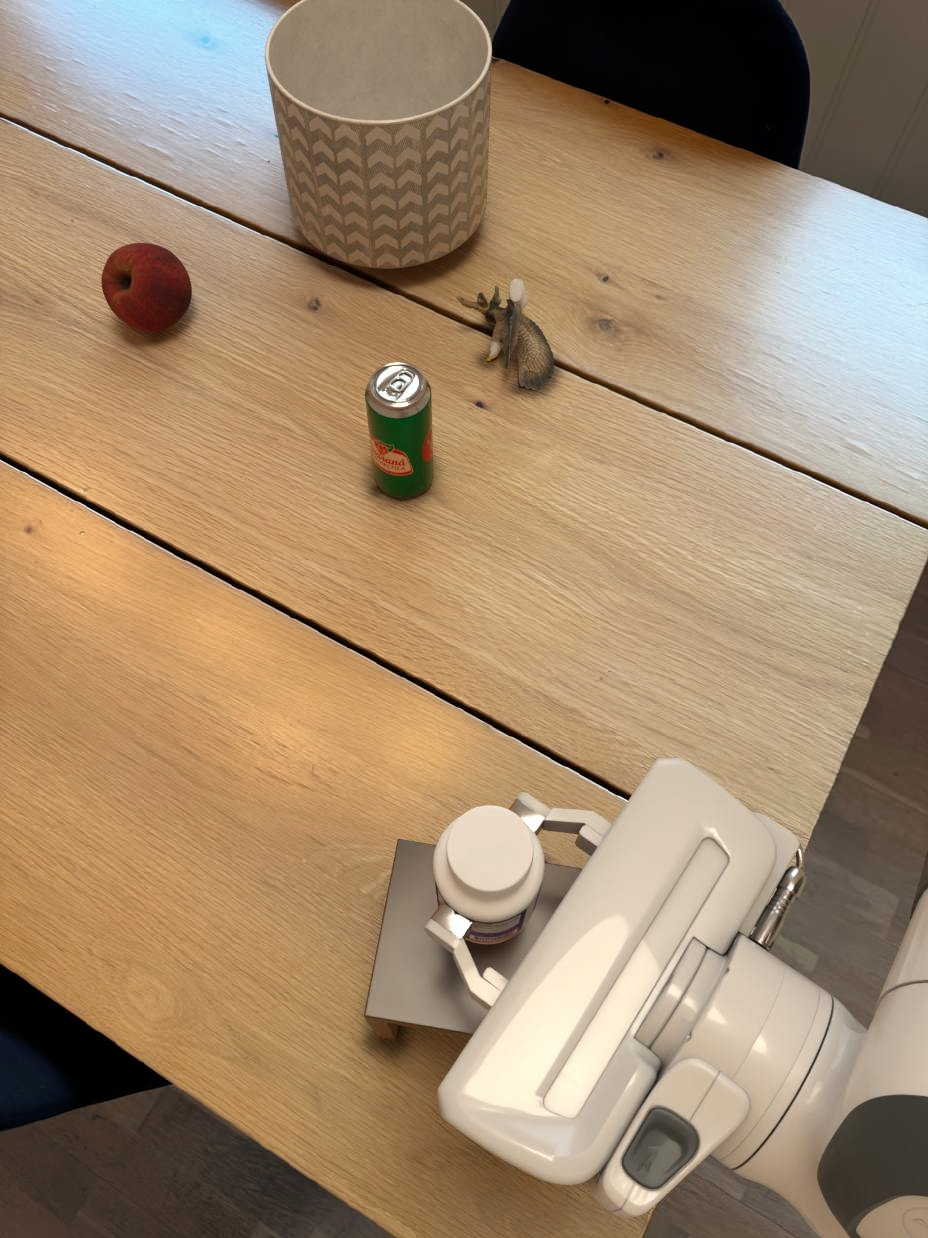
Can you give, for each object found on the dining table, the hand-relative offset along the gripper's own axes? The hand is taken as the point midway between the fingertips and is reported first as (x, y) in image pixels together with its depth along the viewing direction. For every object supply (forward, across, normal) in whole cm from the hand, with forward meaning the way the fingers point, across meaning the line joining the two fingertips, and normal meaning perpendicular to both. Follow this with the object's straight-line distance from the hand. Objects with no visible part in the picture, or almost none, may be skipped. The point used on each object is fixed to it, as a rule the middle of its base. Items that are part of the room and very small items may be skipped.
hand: (473, 860), depth 50 cm
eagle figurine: (+27, -45, +22) cm, 57 cm away
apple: (+56, -29, +22) cm, 67 cm away
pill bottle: (-1, 0, +6) cm, 6 cm away
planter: (+46, -52, +22) cm, 73 cm away
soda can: (+27, -28, +22) cm, 45 cm away
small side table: (-1, +2, +22) cm, 22 cm away
